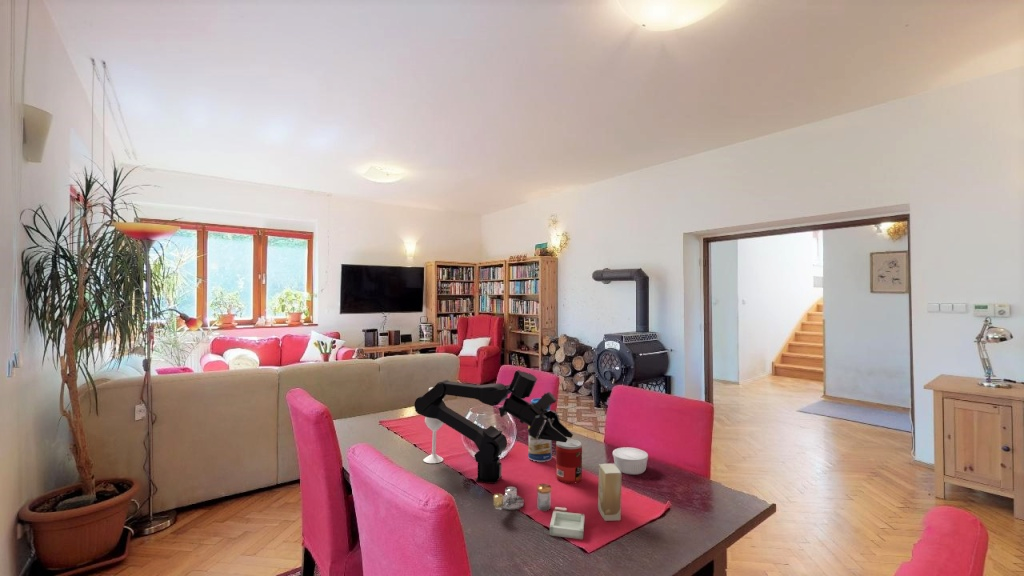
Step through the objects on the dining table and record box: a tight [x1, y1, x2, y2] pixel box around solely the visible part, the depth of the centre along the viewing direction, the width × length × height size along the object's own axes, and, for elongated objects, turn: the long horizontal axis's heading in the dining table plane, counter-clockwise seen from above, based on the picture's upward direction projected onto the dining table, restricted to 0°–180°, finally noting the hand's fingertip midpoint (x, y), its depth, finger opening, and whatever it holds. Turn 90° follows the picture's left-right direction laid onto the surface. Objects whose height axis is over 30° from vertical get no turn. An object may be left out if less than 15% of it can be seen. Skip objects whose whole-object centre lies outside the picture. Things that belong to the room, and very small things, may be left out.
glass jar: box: [536, 483, 552, 512], centre depth 116 cm, size 4×4×6 cm
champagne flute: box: [423, 386, 445, 464], centre depth 149 cm, size 7×7×24 cm
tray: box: [549, 510, 586, 540], centre depth 106 cm, size 8×8×2 cm
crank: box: [493, 486, 518, 511], centre depth 115 cm, size 11×3×5 cm, turn 158°
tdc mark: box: [554, 506, 568, 512], centre depth 115 cm, size 3×1×1 cm, turn 78°
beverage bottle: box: [527, 397, 553, 463], centre depth 151 cm, size 8×8×20 cm
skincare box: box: [597, 462, 623, 522], centre depth 113 cm, size 6×4×12 cm
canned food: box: [555, 438, 583, 484], centre depth 135 cm, size 8×8×11 cm
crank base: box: [502, 495, 525, 511], centre depth 118 cm, size 7×7×1 cm
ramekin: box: [612, 446, 649, 476], centre depth 143 cm, size 11×11×5 cm
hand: (569, 438), depth 125 cm, fingers open, 9 cm apart
